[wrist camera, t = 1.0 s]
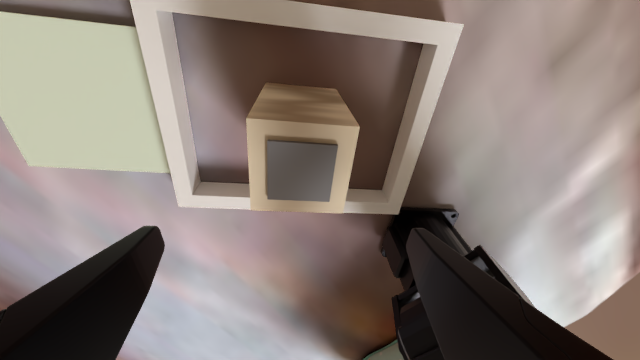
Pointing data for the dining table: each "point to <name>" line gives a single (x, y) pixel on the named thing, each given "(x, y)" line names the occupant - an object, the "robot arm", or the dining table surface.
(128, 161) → the sage pad
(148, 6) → the white rectangular frame
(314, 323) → the dining table surface
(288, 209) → the birch parts box
